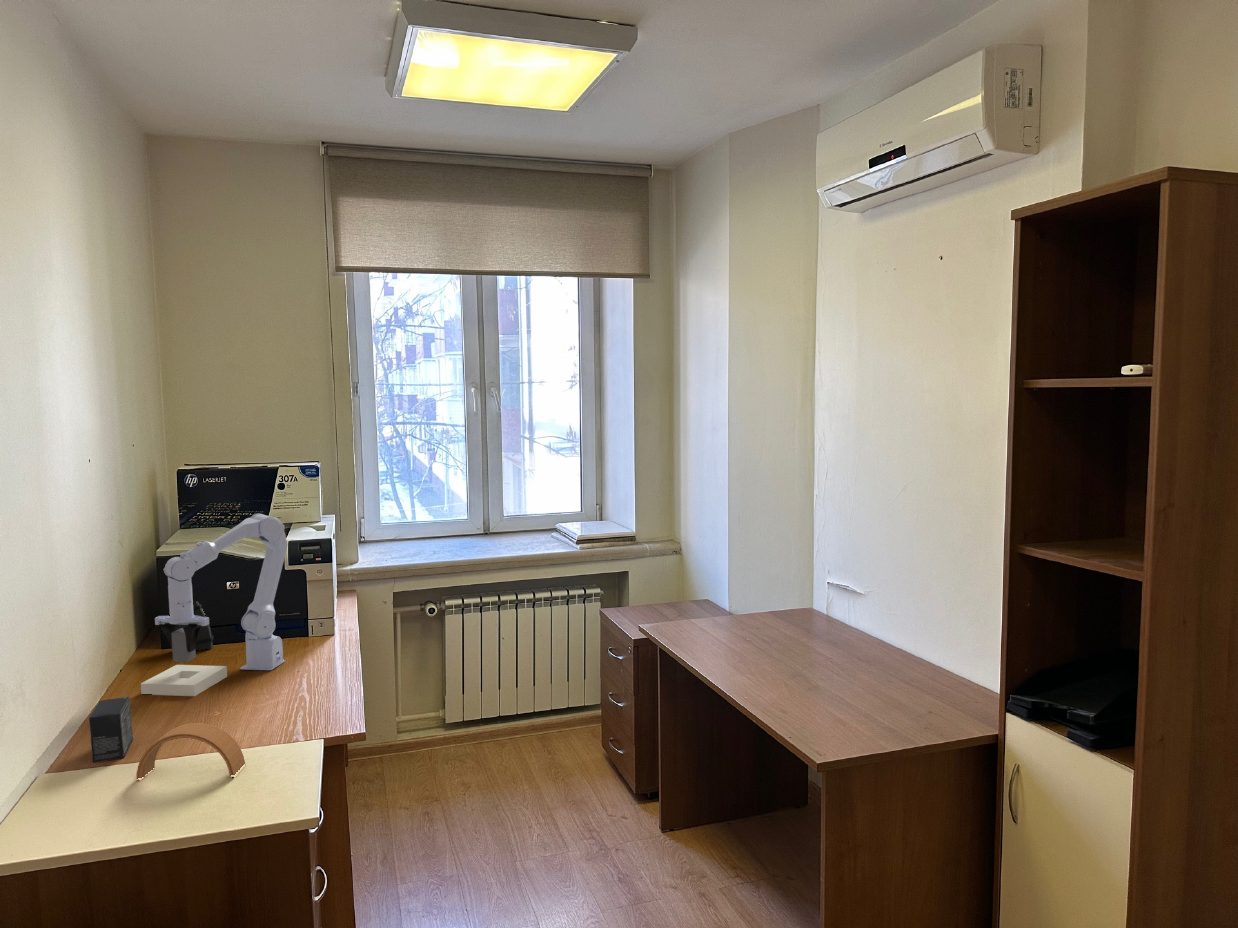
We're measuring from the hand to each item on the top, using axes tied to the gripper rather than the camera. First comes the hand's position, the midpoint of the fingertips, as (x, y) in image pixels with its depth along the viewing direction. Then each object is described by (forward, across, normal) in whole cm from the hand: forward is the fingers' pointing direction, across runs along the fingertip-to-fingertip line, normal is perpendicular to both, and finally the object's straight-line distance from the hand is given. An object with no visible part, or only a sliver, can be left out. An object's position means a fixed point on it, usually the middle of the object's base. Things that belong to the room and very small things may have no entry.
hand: (183, 650), depth 229 cm
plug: (+2, 0, 0) cm, 3 cm away
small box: (+10, +10, -41) cm, 44 cm away
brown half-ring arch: (+10, +35, -50) cm, 61 cm away
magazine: (+10, -18, +28) cm, 35 cm away
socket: (+9, 0, -1) cm, 9 cm away
